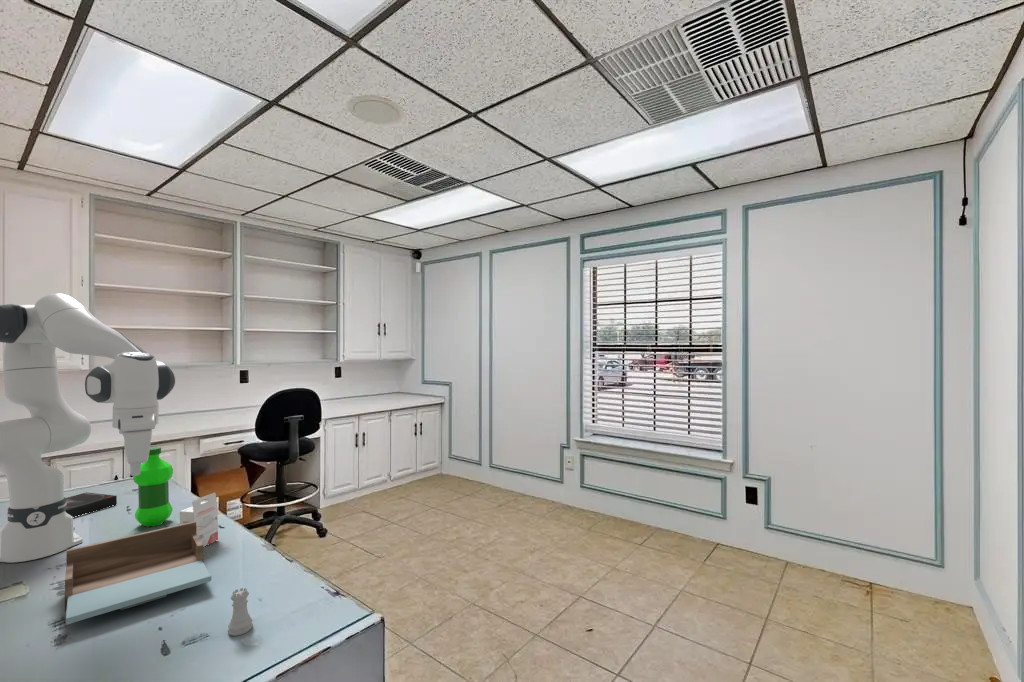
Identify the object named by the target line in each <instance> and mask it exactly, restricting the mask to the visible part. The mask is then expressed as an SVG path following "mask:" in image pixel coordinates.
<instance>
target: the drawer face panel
mask: <svg viewBox="0 0 1024 682" xmlns="http://www.w3.org/2000/svg"><path fill="white" fill-rule="evenodd" d="M211 581H212V575H211V574H210V571H209V570H208V568H207V566H206V565H205V562H204V563H203V561H202V560H201V561H197V562H193V563H190V564H186V565H182V566H179V567H175V568H171V569H168V570H164V571H160V572H157V573H153V574H149V575H146V576H142V577H138V578H135V579H131V580H127V581H123V582H120V583H116V584H112V585H109V586H105V587H101V588H98V589H94V590H90V591H87V592H83V593H79V594H76V595H72V596H68V601H67V611H66V612H65V613H66V614H65V625H70V624H73V623H76V622H80V621H83V620H86V619H90V618H93V617H95V616H99V615H104V614H106V613H109V612H113V611H116V610H119V609H120V611H123V610H126V609H130V608H133V607H136V606H139V605H144V604H146V603H149V602H152V601H153V602H154V601H156V600H159V599H163V598H166V597H167V595H169V594H173V593H176V592H180V591H182V590H186V589H189V588H192V587H196V586H201V585H203V584H205V583H209V582H211Z"/></svg>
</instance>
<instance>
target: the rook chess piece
mask: <svg viewBox="0 0 1024 682" xmlns="http://www.w3.org/2000/svg"><path fill="white" fill-rule="evenodd" d="M249 594H250V592H249V591H248V589H247V587H244V588H243V587H240V588H237V589H235V590H234V591H233V592H232V595H231V597H230V599H231V601H232V604H231V606H232V608H233V609H232V615H231V618H230V622H229V623H228V626H227V628H228V630H227V633H228V634H229V635H230V636H232V637H238V636H242V635H244V634H246V633H248V632H249V631H250V630H251V629H252V628H253V626H254V624H253V618H252V617H251V615H250V613H249V611H248V602H249V601H248V599H247V598H248V596H249Z"/></svg>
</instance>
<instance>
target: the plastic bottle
mask: <svg viewBox="0 0 1024 682" xmlns="http://www.w3.org/2000/svg"><path fill="white" fill-rule="evenodd" d="M160 454H162V447H160V446H158V447H157V446H155V447H154V446H153V447H150V451H149V457H148V460H147V462H144V463H141V468H140V475H137V476H132V478H133V482H134V483H135V484H136V485H138V489H137V490H138V491H137V492H138V507H137V508H136V511H135V512H134V518H135V520H136V522H138V523H139V524H141V525H143V526H144V527H145V526H152V527H156V526H155V525H157V526H160V525H162V524H164V523H165V522H166V520H168V519H169V518H170V517H171V515H172V512H173V506H172V504H171V503H170V499H169V498H170V497H169V488H170V487H169V481H170V480H171V479H172V477H173V474H174V468H173V466H172V465H171V464H170V463H168V462H167V461H165V460H163V459H162V458H160ZM163 522H164V523H163ZM161 523H162V524H161ZM159 524H160V525H159Z"/></svg>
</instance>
